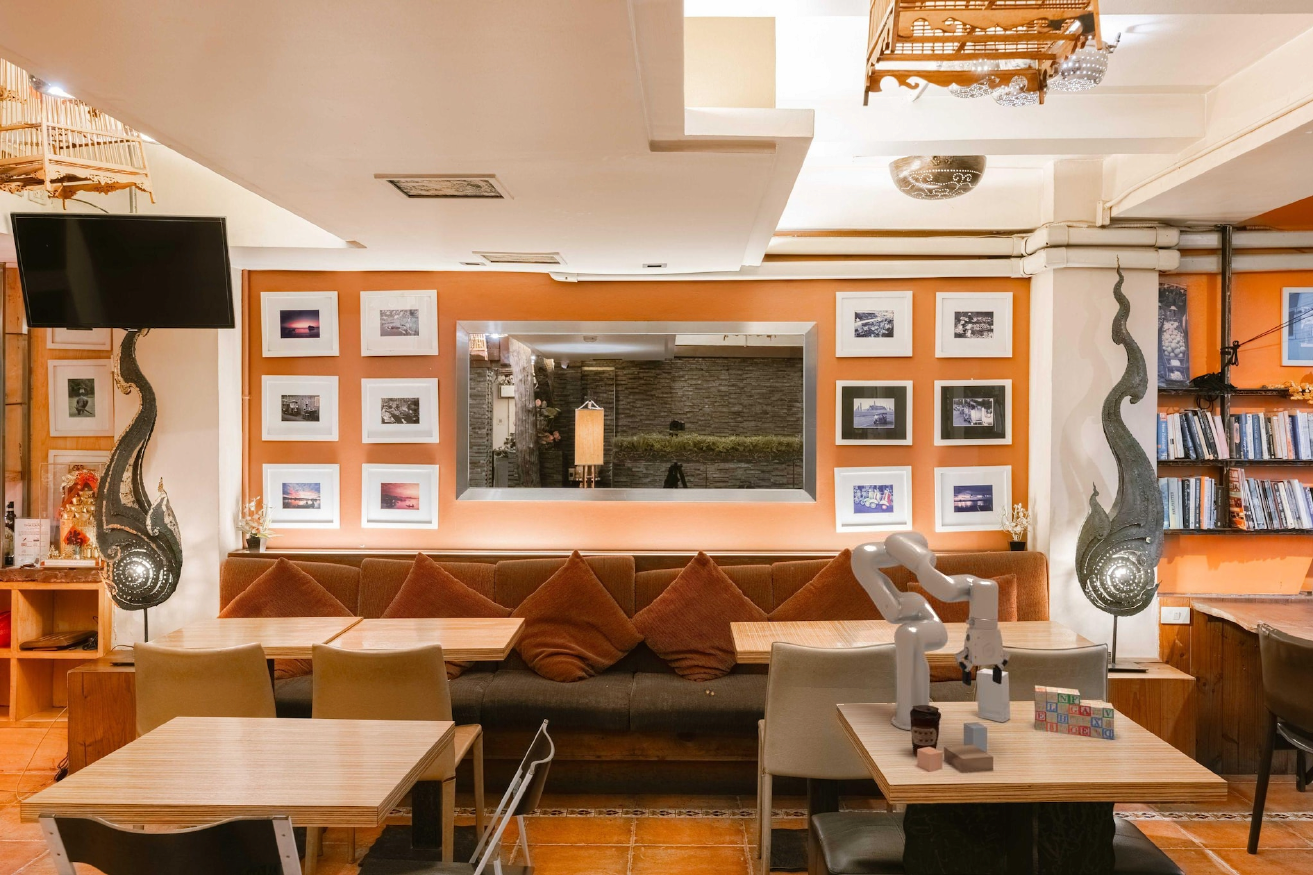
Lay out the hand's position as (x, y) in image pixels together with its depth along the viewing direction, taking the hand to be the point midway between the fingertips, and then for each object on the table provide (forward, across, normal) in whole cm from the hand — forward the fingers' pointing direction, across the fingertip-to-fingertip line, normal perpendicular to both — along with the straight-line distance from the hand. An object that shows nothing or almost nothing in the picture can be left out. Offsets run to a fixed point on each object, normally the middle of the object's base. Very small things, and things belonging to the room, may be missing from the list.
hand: (981, 683), depth 239 cm
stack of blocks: (+19, +38, +8) cm, 43 cm away
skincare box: (+19, +22, +24) cm, 38 cm away
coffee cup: (+19, -18, 0) cm, 26 cm away
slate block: (+19, -2, 0) cm, 19 cm away
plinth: (+19, -10, -10) cm, 24 cm away
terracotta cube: (+19, -22, -9) cm, 30 cm away
